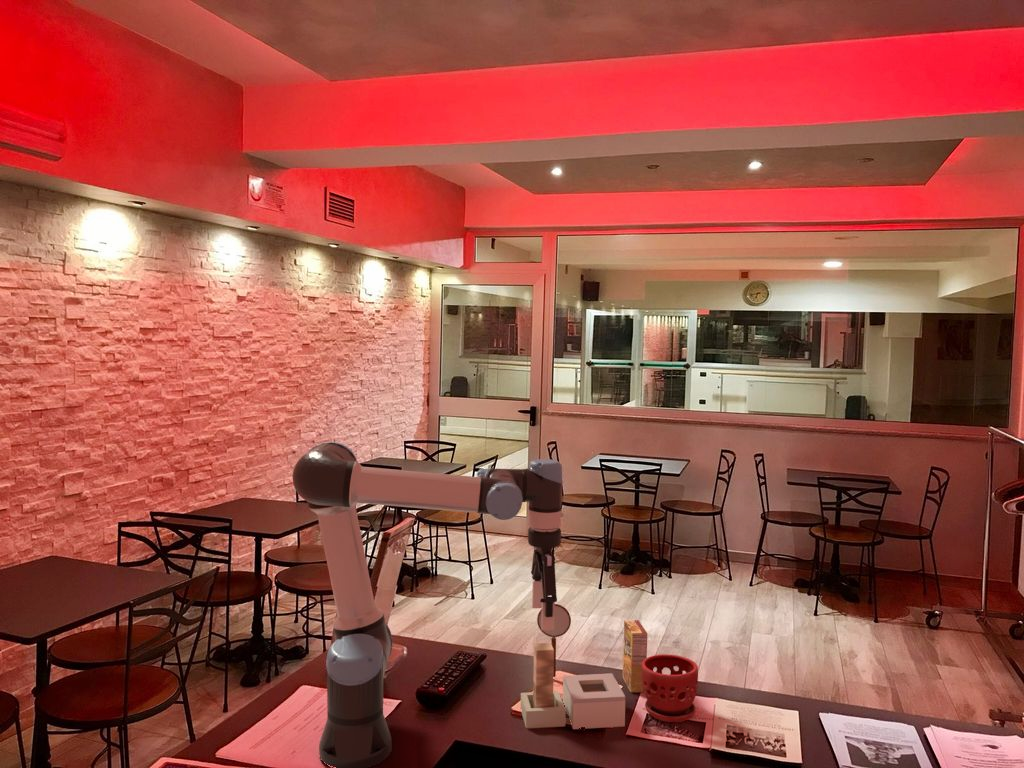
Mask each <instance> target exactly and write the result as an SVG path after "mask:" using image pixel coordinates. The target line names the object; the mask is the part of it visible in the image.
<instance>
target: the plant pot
mask: <svg viewBox="0 0 1024 768" xmlns="http://www.w3.org/2000/svg"><path fill="white" fill-rule="evenodd" d="M674 667H678V670H675V668H674ZM655 668H656V671H654V669H655ZM666 668H667V669H669V670H670V674H668V673H667V674H666V673H663V670H664V669H666ZM683 671H684V672H685V673H683ZM641 675H642V685H643V690H644V692H643V693H644V697H645V698H646V701H645V703H644V706H645V707H644V708H645V710H646V712H647V714H649V715H650V716H652V717H653V718H655V719H657V720H660V721H662V722H668V723H681V722H685V721H687V720H689V719H691V718H692V716H694V715H695V713H696V706H695V704H694V702H695V698H696V695H697V691H698V683H699V667H698V664H697V663H696V662H695V661H693V660H692V659H690V658H688V657H685V656H680V655H678V654H677V655H676V654H667V653H666V654H655V655H651V656H648V657H647V658H646V659H644V660H643V662H642V664H641Z"/></svg>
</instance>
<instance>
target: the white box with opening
mask: <svg viewBox="0 0 1024 768" xmlns="http://www.w3.org/2000/svg"><path fill="white" fill-rule="evenodd" d="M562 677H563V678H562V702H563V703H564V705H565V708H566V710H565V712H566V711H567V713H568V715H567V717H568V716H569V718H570V720H571V723H572V725H571V728H572V729H573V730H582V729H581V727H585V729H597V728H598V729H601V728H603V729H604V728H619V727H625V726H626V725H625V724H626V695H625V693H624V692H623V689H622V688H621V686H620V684H619V683H618V681H617V680H616V677H614V674H613V673H611V672H610V673H592V674H571V675H567V674H566V675H563V676H562ZM597 690H601V692H583V691H597ZM567 713H566V714H567ZM569 718H568V719H569ZM570 720H569V721H570ZM571 723H570V724H571ZM579 728H580V729H579Z"/></svg>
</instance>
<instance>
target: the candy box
mask: <svg viewBox="0 0 1024 768" xmlns="http://www.w3.org/2000/svg"><path fill="white" fill-rule="evenodd" d="M623 622H624V623H623V625H624V626H623V648H622V649H623V650H622V651H623V653H622V678H623V681H624V683H625V684H626V687H627V689H628V690H629V692H630V693H632V694H633V693H644V690H643V685H642V675H641V664H642V662H643V660H644V659H646V658H648V657H647V656H648V655H647V654H648V653H647V652H648V632H647V631H646V629H645V628H644V626H643V625H642V622H640V620H639V619H625V620H624V621H623Z"/></svg>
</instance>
